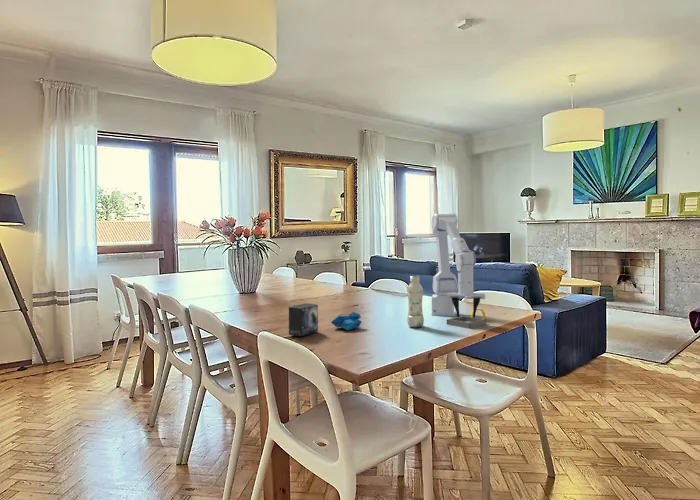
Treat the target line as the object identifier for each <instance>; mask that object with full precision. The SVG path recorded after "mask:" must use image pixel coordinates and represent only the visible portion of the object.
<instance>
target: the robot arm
mask: <svg viewBox="0 0 700 500" xmlns="http://www.w3.org/2000/svg"><path fill="white" fill-rule="evenodd" d="M431 232H432V234H433V235H435V243H436V252H437V256H436V257H437V265H438V267H437V268H438V272H437V273H436V274H435V275H434V276H433V277H432V291H433V292H434V293H433V294H432V295H431V315H432V316H438V317H439V316H443V317H448V316H449V317H455V315H456V317H459V316H460V299H466V300H467V299H468V300H469V299H470V300H472V303H473V308H472V310H473V318H476V312H477V310H476V309H477V307H479V304H480V302H481V300H486V293H478V292H477V293H476V292H474V267H475V265H476V264H477V263H476V262H477V256H476V253H475V252H474V251H472V249H469V247H468V244H467V243H466V240H465V238H463V237H461V235H460V232H459V229H458V216H457V214H456V213H434V214H433V215H432V217H431ZM448 237H450V240H451V242H450V246H451V249H452V250H453V253H454V255H455V259H454V262H455V264H456V270H457V276H456V274H454V273H453V272H452V271H451V262H450V252H449V241H448ZM457 279H458V280H457Z"/></svg>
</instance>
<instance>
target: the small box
mask: <svg viewBox="0 0 700 500" xmlns="http://www.w3.org/2000/svg"><path fill="white" fill-rule="evenodd" d="M318 310H319V305H318V304H313V303H300V304H297V305H292V306H291V305H290V306H288V335H290V336H296V337H303V336H307V335H310V334H313V333H317V332H319V312H318Z"/></svg>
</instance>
